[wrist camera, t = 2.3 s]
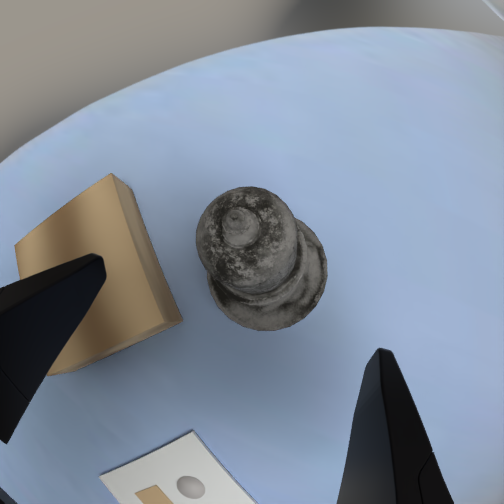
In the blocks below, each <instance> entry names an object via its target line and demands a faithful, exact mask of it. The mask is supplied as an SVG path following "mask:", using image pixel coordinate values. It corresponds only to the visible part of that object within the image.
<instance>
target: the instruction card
mask: <svg viewBox="0 0 504 504" xmlns="http://www.w3.org/2000/svg"><path fill="white" fill-rule="evenodd" d="M99 478H100V479H101V481H102V482H103V483H104V484H105V486H106V487H107V488H108V489H109V491H110V492H111V493H112V494H113V496H114V497H115V498H116V499H117V500H118V501H119V503H120V504H258V503H257V502H256V501H255V500H254V499H253V498H252V497H251V496H250V495H249V494H248V493H247V492H246V491H245V490H244V489H243V488H242V486H241V485H240V484H239V483H238V482H237V481H236V480H235V479H234V478H233V477H232V476H231V474H230V473H229V472H228V471H227V470H226V469H225V468H224V467H223V465H222V464H221V463H220V462H219V461H218V460H217V458H216V457H215V456H214V455H213V454H212V452H211V451H210V450H209V449H208V448H207V446H206V445H205V444H204V443H203V441H202V440H201V439H200V438H199V436H198V435H197V434H196V433H195V431H192V432H190V433H188V434H186V435H184V436H183V437H181V438H179V439H177V440H175V441H173V442H171V443H169V444H167V445H165V446H163V447H162V448H160V449H158V450H156V451H153V452H151V453H149V454H147V455H145V456H143V457H141V458H139V459H137V460H135V461H133V462H130V463H128V464H126V465H124V466H121V467H119V468H117V469H115V470H112V471H110V472H108V473H105V474H103V475H100V476H99Z"/></svg>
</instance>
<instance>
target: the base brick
mask: <svg viewBox="0 0 504 504" xmlns="http://www.w3.org/2000/svg"><path fill="white" fill-rule="evenodd" d="M14 246H15V253H16V259H17V265H18V271H19V276H20V280H22V279H24V278H27V277H29V276H32V275H34V274H37V273H39V272H42V271H44V270H47V269H50V268H52V267H55V266H57V265H60V264H63V263H65V262H68V261H71V260H73V259H76V258H79V257H82V256H84V255H87V254H90V253H95V254H98V255H100V256H102V257H103V259H104V264H105V268H106V273H107V278H106V281H105V283H104V285H103V286H102V288H101V290H100V291H99V293H98V295H97V296H96V298H95V300H94V302H93V303H92V305H91V307H90V309H89V310H88V312H87V314H86V315H85V317H84V318H83V320H82V321H81V323H80V324H79V326H78V327H77V329H76V330H75V331H74V333H73V334H72V336H71V337H70V339H69V340H68V342H67V343H66V345H65V346H64V348H63V349H62V351H61V352H60V354H59V356H58V357H57V359H56V360H55V362H54V363H53V365H52V366H51V368H50V370H49V371H48V373H47V376H52V375H57V374H63V373H68V372H73V371H76V370H78V369H80V368H83V367H85V366H87V365H89V364H92V363H94V362H96V361H98V360H101V359H103V358H105V357H107V356H110V355H112V354H114V353H116V352H118V351H121V350H123V349H125V348H127V347H129V346H132V345H134V344H136V343H138V342H140V341H142V340H145V339H147V338H149V337H151V336H153V335H155V334H157V333H160V332H162V331H164V330H166V329H168V328H170V327H172V326H174V325H176V324H179V323H181V322H183V319H182V317H181V315H180V312H179V310H178V308H177V305H176V303H175V301H174V298H173V296H172V294H171V291H170V289H169V287H168V284H167V282H166V279H165V277H164V274H163V272H162V269H161V267H160V264H159V262H158V259H157V257H156V254H155V252H154V249H153V246H152V244H151V241H150V239H149V236H148V233H147V230H146V228H145V225H144V222H143V220H142V217H141V214H140V211H139V208H138V205H137V202H136V200H135V197H134V194H133V191H132V189H131V188H129V187H128V186H127V185H126V184H125V183H123V182H122V181H121V180H120V179H118V178H117V177H116V176H115V175H113V174H112V173H110V174H109V175H107V176H106V177H104V178H103V179H101V180H100V181H98V182H97V183H95V184H94V185H92V186H91V187H89V188H88V189H86V190H85V191H84V192H82V193H81V194H79V195H78V196H76V197H75V198H74V199H72V200H71V201H70V202H68V203H67V204H65V205H64V206H63V207H61V208H60V209H59V210H57V211H56V212H55V213H54V214H52V215H51V216H50V217H48V218H47V219H46V220H45V221H43V222H42V223H41V224H39V225H38V226H37V227H36V228H35V229H33V230H32V231H31V232H30V233H28V234H27V235H26V236H25V237H24V238H22V239H21V240H20V241H19V242H18V243H17V244H15V245H14Z"/></svg>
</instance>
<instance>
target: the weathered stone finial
mask: <svg viewBox="0 0 504 504" xmlns="http://www.w3.org/2000/svg"><path fill="white" fill-rule="evenodd" d="M196 246H197V251H198V255H199V258H200V260H201V262H202V264H203V265H204V267H205V269H206V270H207V280H208V284H209V288H210V292H211V295H212V296H213V298H214V300H215V302H216V304H217V306H218V307H219V308H220V309H221V310H222V311H223V312H224V313H225V315H226V316H227V317H228V318H230V319H231V320H233V321H235V322H236V323H238V324H240V325H241V326H243V327H247V328H250V329H254V330H258V331H275V330H279V329H283V328H286V327H290V326H292V325H294V324H295V323H297V322H299V321H300V320H302V319H304V318H305V317H306V316H307V315H308V314H309V313H310V312H311V311H312V310H313V309H314V308H315V307H316V305H317V303H318V302H319V300H320V298H321V296H322V294H323V292H324V289H325V285H326V280H327V259H326V256H325V253H324V249H323V246H322V244H321V243H320V241H319V239H318V238H317V236H316V235H315V233H314V232H313V231H312V230H311V229H310V228H309V227H308V226H307V225H305V224H304V223H303V222H302V221H300V220H298V219H296V218H294V216H293V214H292V212H291V211H290V209H289V208H288V206H287V205H286V203H285V202H283V201H282V200H281V199H280V198H279V197H278V196H277V195H276V194H274V193H272V192H270V191H268V190H266V189H262V188H257V187H239V188H235V189H232V190H229V191H227V192H225V193H223V194H222V195H220V196H218V197H217V198H216V199H215V200H213V201H212V202H211V203H210V204H209V205H208V206H207V208H206V209H205V211H204V213H203V214H202V216H201V218H200V221H199V224H198V227H197V230H196Z"/></svg>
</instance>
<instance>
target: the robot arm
mask: <svg viewBox="0 0 504 504" xmlns="http://www.w3.org/2000/svg"><path fill="white" fill-rule="evenodd" d="M106 278H107V273H106V268H105V264H104V259H103V257H102V256H100V255H98V254H95V253H90V254H87V255H84V256H82V257H79V258H76V259H73V260H71V261H68V262H65V263H63V264H60V265H57V266H55V267H52V268H50V269H47V270H44V271H42V272H39V273H37V274H34V275H32V276H29V277H27V278H24V279H22V280H19V281H17V282H14V283H12V284H9V285H7V286H5V287H2V288H0V440H1V441H2V442H4V443H5V444H7V443H8V442H9V440H10V438H11V436H12V434H13V432H14V430H15V428H16V427H17V425H18V423H19V421H20V419H21V417H22V416H23V414H24V412H25V410H26V408H27V407H28V405H29V402H30V401H31V399H32V398H33V396H34V394H35V393H36V391H37V389H38V388H39V386H40V384H41V383H42V381H43V379H44V378H45V376H46V374H47V373H48V371H49V370H50V368H51V366H52V365H53V363H54V362H55V360H56V359H57V357H58V356H59V354H60V352H61V351H62V349H63V348H64V346H65V345H66V343H67V342H68V340H69V339H70V337H71V336H72V334H73V333H74V331H75V330H76V329H77V327H78V326H79V324H80V323H81V321H82V320H83V318H84V317H85V315H86V314H87V312H88V310H89V309H90V307H91V305H92V303H93V302H94V300H95V298H96V296H97V295H98V293H99V291H100V290H101V288H102V286H103V285H104V283H105V281H106ZM432 451H433V449H432V447H431V444H430V441H429V438H428V436H427V433H426V431H425V428H424V425H423V423H422V420H421V418H420V415H419V413H418V410H417V408H416V405H415V403H414V400H413V398H412V396H411V393H410V391H409V389H408V386H407V384H406V382H405V379H404V377H403V375H402V372H401V370H400V368H399V366H398V363H397V361H396V359H395V357H394V354H393V353H392V351H391V350H387V349H383V348H378V349H377V350H376V351H375V353H374V354H373V356H372V357H371V359H370V360H369V362H368V363H367V365H366V367H365V371H364V375H363V380H362V384H361V388H360V392H359V396H358V400H357V404H356V408H355V412H354V417H353V422H352V429H351V435H350V441H349V447H348V452H347V458H346V463H345V468H344V473H343V478H342V482H341V487H340V491H339V496H338V500H337V504H454V502H453V500H452V497H451V495H450V493H449V491H448V488H447V486H446V484H445V481H444V479H443V476H442V474H441V471H440V468H439V466H438V463H437V460H436V457H435V455H434V452H432ZM0 504H17V503H16V502H15V501H14V500H13V499H12V498H11V497H10V496H9V495H8V494H7V493H6V492H5V491H4V490H3V489H2V488H1V487H0Z"/></svg>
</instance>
